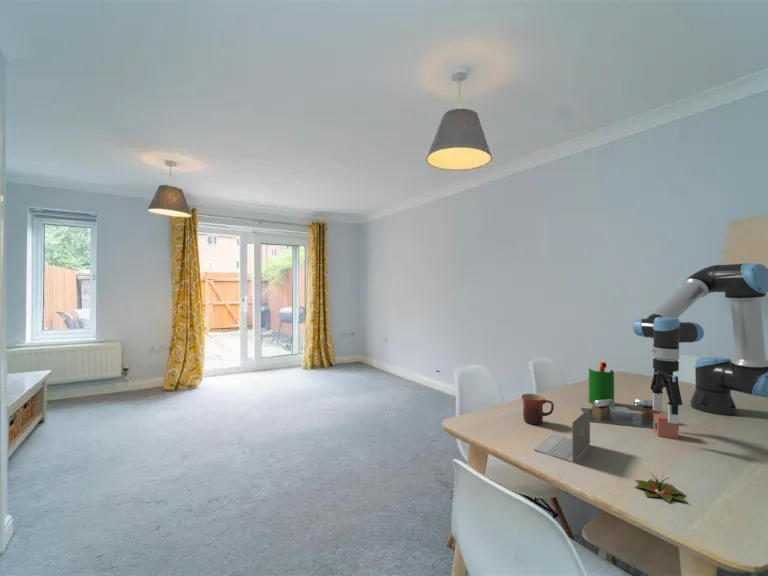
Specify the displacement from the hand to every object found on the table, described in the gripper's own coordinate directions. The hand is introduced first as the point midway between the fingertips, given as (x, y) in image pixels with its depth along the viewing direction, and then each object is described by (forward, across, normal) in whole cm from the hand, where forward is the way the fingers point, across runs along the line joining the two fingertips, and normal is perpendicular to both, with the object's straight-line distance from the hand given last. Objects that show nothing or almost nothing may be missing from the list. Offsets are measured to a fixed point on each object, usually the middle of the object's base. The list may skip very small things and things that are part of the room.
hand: (664, 416), depth 131 cm
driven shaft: (+6, -11, -17) cm, 21 cm away
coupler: (+7, 0, 0) cm, 7 cm away
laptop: (+8, +23, -37) cm, 45 cm away
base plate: (+7, -14, -10) cm, 18 cm away
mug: (+8, +2, -44) cm, 44 cm away
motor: (+7, -33, -13) cm, 36 cm away
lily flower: (+8, +44, -17) cm, 47 cm away
